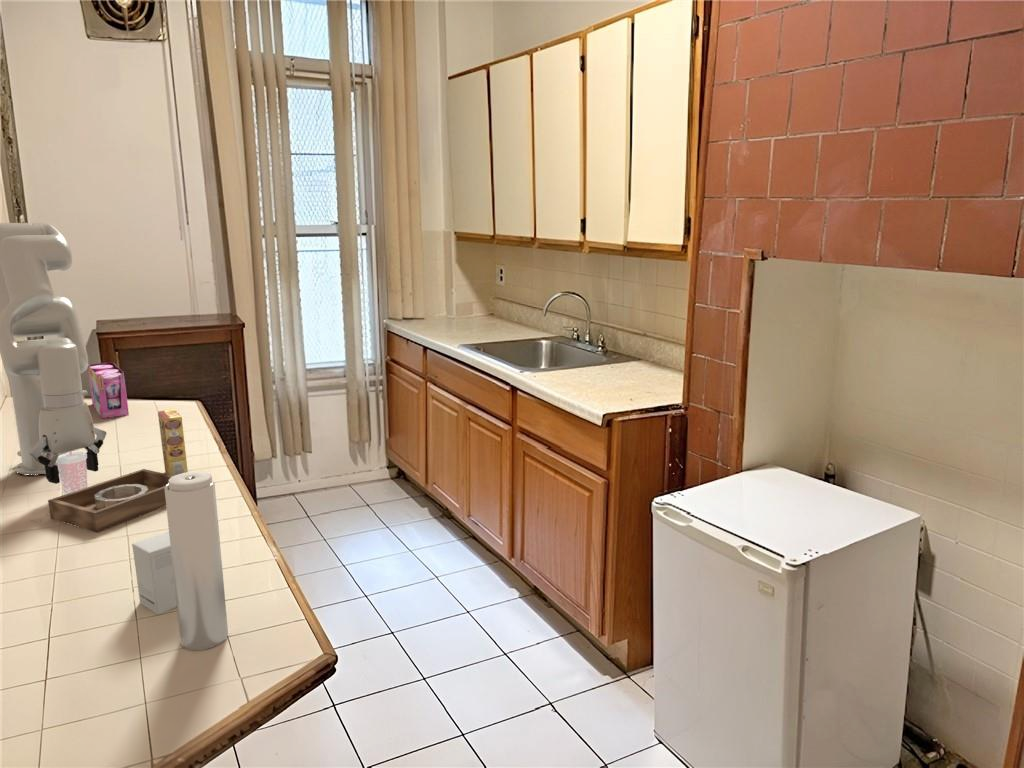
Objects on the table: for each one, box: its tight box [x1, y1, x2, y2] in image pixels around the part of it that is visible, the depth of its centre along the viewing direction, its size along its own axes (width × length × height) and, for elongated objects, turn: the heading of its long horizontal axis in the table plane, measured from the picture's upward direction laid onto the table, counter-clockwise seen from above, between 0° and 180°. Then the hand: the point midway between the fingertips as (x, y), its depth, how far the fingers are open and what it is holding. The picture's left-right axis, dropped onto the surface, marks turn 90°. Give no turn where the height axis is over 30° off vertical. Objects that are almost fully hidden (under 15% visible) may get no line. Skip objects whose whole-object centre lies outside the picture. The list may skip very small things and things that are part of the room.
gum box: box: [87, 361, 129, 419], centre depth 239 cm, size 24×8×14 cm, turn 35°
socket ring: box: [94, 484, 148, 510], centre depth 159 cm, size 10×10×2 cm
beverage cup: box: [56, 451, 89, 495], centre depth 165 cm, size 6×6×14 cm
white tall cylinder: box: [164, 471, 229, 651], centre depth 107 cm, size 6×6×25 cm
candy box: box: [157, 408, 189, 476], centre depth 178 cm, size 9×4×15 cm, turn 33°
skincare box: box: [131, 531, 177, 615], centre depth 121 cm, size 10×6×10 cm, turn 141°
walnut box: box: [47, 468, 173, 533], centre depth 159 cm, size 15×22×4 cm
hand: (73, 476), depth 166 cm, fingers open, 8 cm apart
